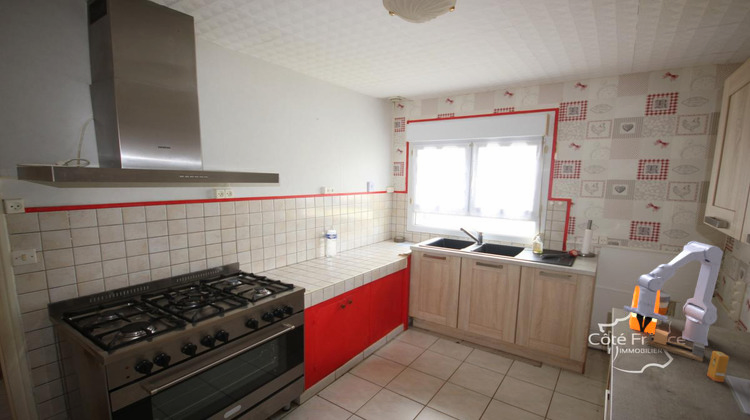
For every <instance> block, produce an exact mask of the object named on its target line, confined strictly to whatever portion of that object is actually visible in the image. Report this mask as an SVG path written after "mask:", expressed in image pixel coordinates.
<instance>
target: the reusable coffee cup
mask: <svg viewBox="0 0 750 420" xmlns="http://www.w3.org/2000/svg"><path fill="white" fill-rule="evenodd" d="M670 302H671V294H670V293H669V292H667V291H664V290H662V289H660V298H659V309H658V314H660V315H663V316H666V314H667V312H668V310H669V303H670ZM662 323H663V321H661V320H657V322H656V326H660V325H662Z"/></svg>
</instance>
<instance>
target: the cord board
mask: <svg viewBox="0 0 750 420" xmlns="http://www.w3.org/2000/svg"><path fill="white" fill-rule="evenodd" d="M654 336H655V335H653V334H651V333H648V336H647V341H646V345H647V344H648V345H647V346H650V345H651V347H653V346H654V347H653V348H658V349H660V350H662V351H667V352H669V353H673V354H677V355H679V356H682V357H685V358H687V359H692V360H696V361H698V362H702V363H703V362H704V354H705V350H706V348H705V345H704V343H701V342H698V341H694V342H692V344H693V345H692V347H691V346H688V345H686V344H683V343H679V342H674V341H671V340H668V339H667V342H666V345H663V344H660V343H657V342H654Z"/></svg>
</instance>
